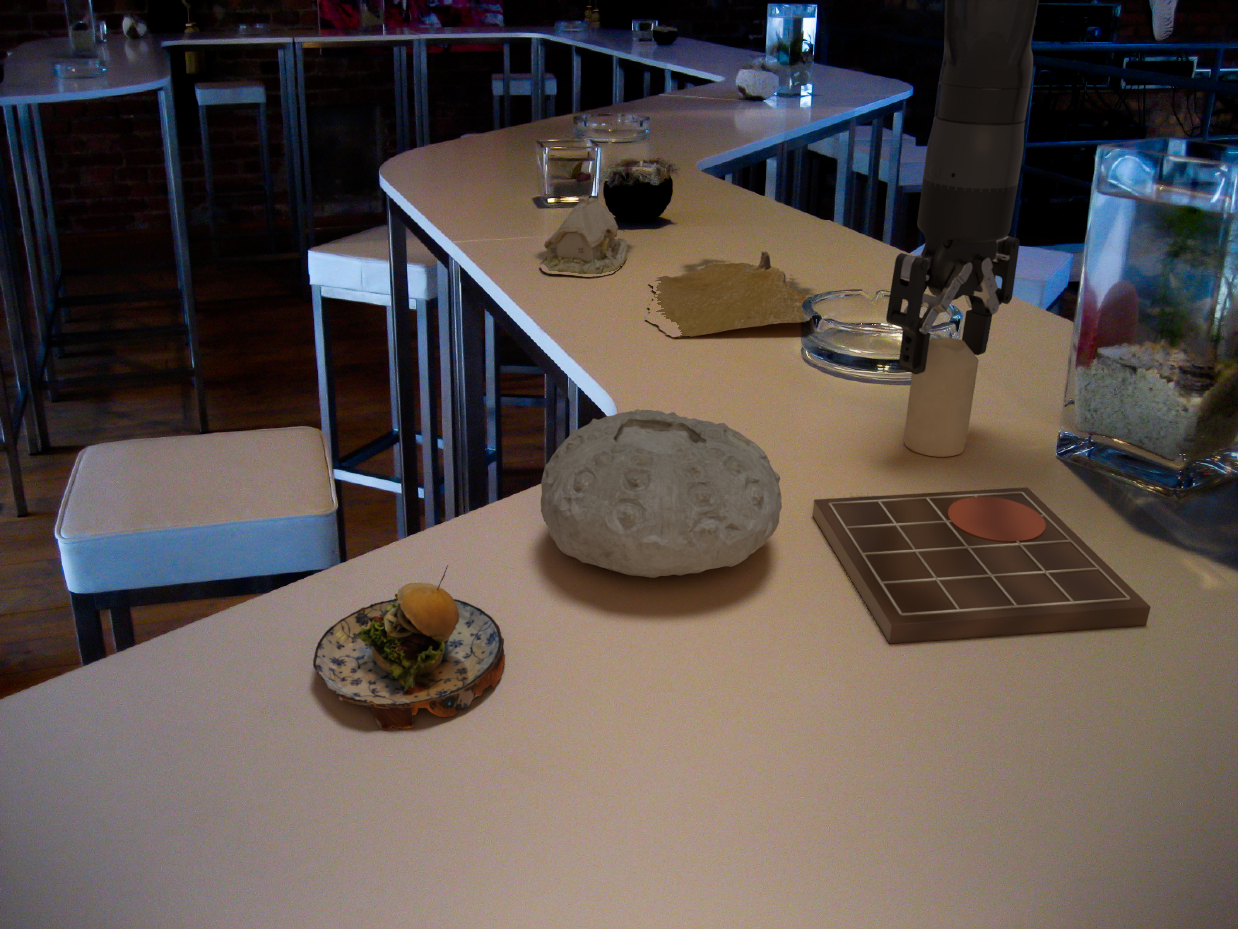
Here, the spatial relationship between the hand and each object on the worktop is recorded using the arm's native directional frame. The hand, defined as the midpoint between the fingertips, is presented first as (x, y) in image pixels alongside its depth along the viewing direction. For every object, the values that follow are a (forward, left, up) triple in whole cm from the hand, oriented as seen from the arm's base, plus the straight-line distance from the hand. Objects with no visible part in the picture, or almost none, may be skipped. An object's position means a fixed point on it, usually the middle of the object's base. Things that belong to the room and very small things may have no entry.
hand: (943, 361), depth 96 cm
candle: (0, 0, -8) cm, 8 cm away
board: (+6, +21, -8) cm, 23 cm away
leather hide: (+10, -44, -8) cm, 46 cm away
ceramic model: (+26, -66, -8) cm, 71 cm away
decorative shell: (+28, +16, -8) cm, 33 cm away
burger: (+46, +29, -8) cm, 55 cm away
